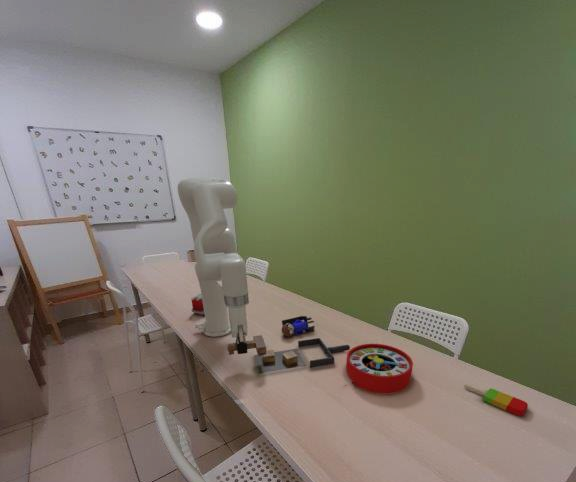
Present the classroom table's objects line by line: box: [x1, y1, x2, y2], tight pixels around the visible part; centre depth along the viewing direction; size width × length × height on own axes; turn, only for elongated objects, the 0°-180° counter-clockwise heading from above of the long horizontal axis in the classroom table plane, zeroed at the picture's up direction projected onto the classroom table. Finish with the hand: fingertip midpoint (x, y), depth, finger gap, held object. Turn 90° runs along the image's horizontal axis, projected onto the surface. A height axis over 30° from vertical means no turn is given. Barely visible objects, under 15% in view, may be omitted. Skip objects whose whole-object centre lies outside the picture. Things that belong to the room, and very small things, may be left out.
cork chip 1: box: [263, 349, 275, 363], centre depth 105 cm, size 4×4×2 cm
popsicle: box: [463, 384, 529, 417], centre depth 84 cm, size 6×15×2 cm, turn 42°
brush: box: [226, 334, 267, 356], centre depth 99 cm, size 12×9×3 cm
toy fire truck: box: [190, 293, 205, 315], centre depth 151 cm, size 9×19×10 cm, turn 148°
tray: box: [254, 348, 307, 374], centre depth 105 cm, size 16×12×1 cm
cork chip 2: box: [282, 351, 298, 365], centre depth 103 cm, size 4×4×2 cm
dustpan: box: [297, 337, 351, 368], centre depth 108 cm, size 18×15×3 cm
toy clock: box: [345, 343, 414, 395], centre depth 96 cm, size 20×6×20 cm
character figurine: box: [281, 315, 316, 337], centre depth 123 cm, size 8×7×15 cm
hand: (242, 350), depth 99 cm, fingers closed on brush, 2 cm apart
